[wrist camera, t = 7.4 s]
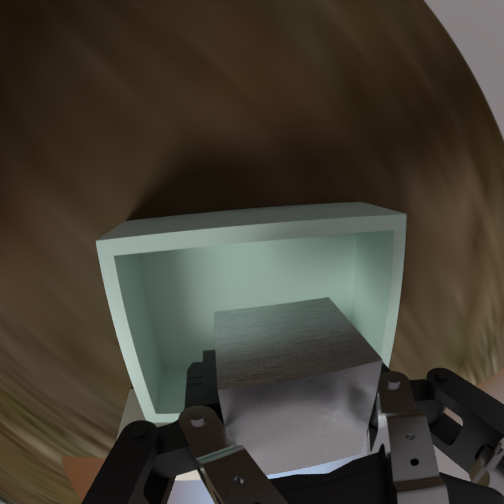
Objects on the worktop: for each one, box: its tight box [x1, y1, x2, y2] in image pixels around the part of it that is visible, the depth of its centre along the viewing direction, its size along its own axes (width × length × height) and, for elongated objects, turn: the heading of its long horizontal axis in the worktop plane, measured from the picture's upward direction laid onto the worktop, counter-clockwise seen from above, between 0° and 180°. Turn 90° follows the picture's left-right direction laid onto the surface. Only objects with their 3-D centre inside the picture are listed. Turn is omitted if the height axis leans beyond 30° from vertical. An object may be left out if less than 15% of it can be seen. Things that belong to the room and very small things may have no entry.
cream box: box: [116, 389, 201, 480], centre depth 20 cm, size 5×5×6 cm
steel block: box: [214, 297, 383, 475], centre depth 11 cm, size 5×5×5 cm
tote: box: [96, 202, 407, 423], centre depth 18 cm, size 16×12×6 cm
